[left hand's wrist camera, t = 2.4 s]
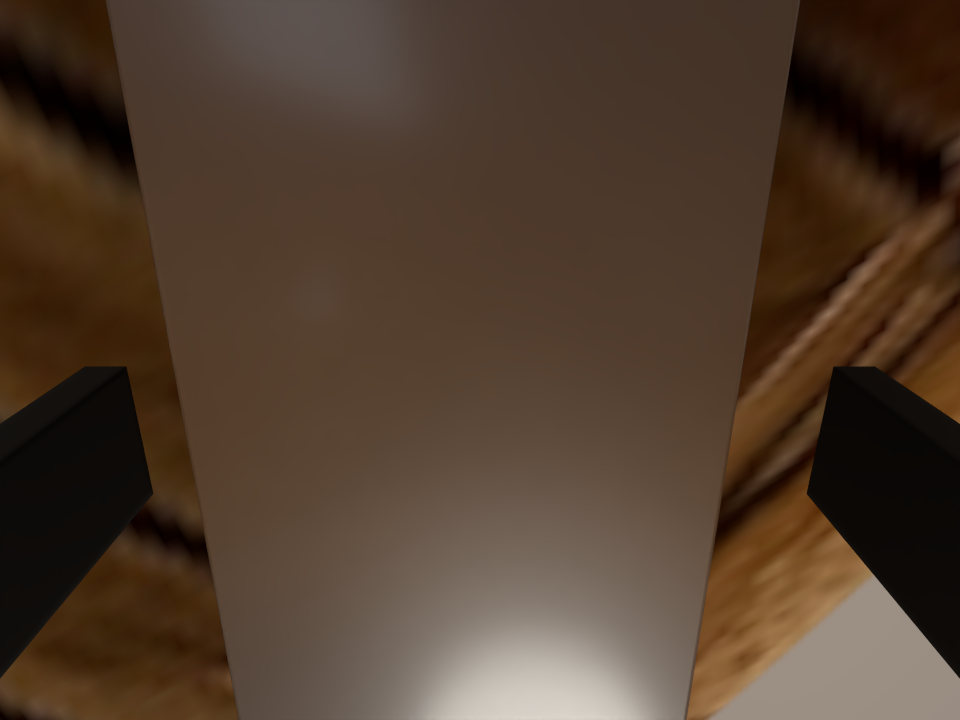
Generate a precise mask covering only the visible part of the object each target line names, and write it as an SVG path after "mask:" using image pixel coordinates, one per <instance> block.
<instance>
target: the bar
mask: <svg viewBox="0 0 960 720" xmlns="http://www.w3.org/2000/svg"><path fill="white" fill-rule="evenodd" d="M106 5H107V11H108V16H109V22H110V27H111V32H112V38H113V43H114V49H115V54H116V59H117V65H118V70H119V76H120V81H121V86H122V92H123V97H124V103H125V108H126V113H127V119H128V124H129V130H130V135H131V140H132V146H133V151H134V157H135V162H136V167H137V173H138V178H139V184H140V189H141V194H142V200H143V205H144V211H145V216H146V221H147V227H148V232H149V238H150V243H151V248H152V254H153V259H154V264H155V270H156V275H157V281H158V286H159V291H160V297H161V302H162V308H163V313H164V318H165V324H166V329H167V335H168V340H169V345H170V351H171V356H172V362H173V367H174V372H175V378H176V383H177V389H178V394H179V399H180V405H181V410H182V416H183V421H184V426H185V432H186V437H187V443H188V448H189V453H190V459H191V464H192V470H193V475H194V480H195V486H196V491H197V497H198V502H199V507H200V513H201V518H202V524H203V529H204V534H205V540H206V545H207V551H208V556H209V561H210V567H211V572H212V578H213V583H214V588H215V594H216V599H217V605H218V610H219V615H220V621H221V626H222V632H223V637H224V642H225V648H226V653H227V659H228V664H229V669H230V675H231V680H232V686H233V691H234V696H235V702H236V707H237V713H238V718H239V720H686V718H687V712H688V706H689V699H690V693H691V687H692V680H693V674H694V668H695V661H696V655H697V649H698V643H699V636H700V630H701V624H702V617H703V611H704V605H705V598H706V592H707V586H708V579H709V573H710V567H711V560H712V554H713V548H714V542H715V535H716V529H717V523H718V516H719V510H720V504H721V497H722V491H723V485H724V478H725V472H726V466H727V459H728V453H729V447H730V441H731V434H732V428H733V422H734V415H735V409H736V403H737V396H738V390H739V384H740V377H741V371H742V365H743V358H744V352H745V346H746V340H747V333H748V327H749V321H750V314H751V308H752V302H753V295H754V289H755V283H756V276H757V270H758V264H759V257H760V251H761V245H762V239H763V232H764V226H765V220H766V213H767V207H768V201H769V194H770V188H771V182H772V175H773V169H774V163H775V156H776V150H777V144H778V138H779V131H780V125H781V119H782V112H783V106H784V100H785V93H786V87H787V81H788V74H789V68H790V62H791V55H792V49H793V43H794V37H795V30H796V24H797V18H798V11H799V5H800V0H106Z"/></svg>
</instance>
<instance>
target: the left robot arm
mask: <svg viewBox="0 0 960 720" xmlns="http://www.w3.org/2000/svg"><path fill="white" fill-rule="evenodd" d="M152 495H153V490H152V485H151V481H150V476H149V471H148V466H147V462H146V457H145V452H144V448H143V443H142V438H141V433H140V429H139V424H138V419H137V415H136V410H135V405H134V400H133V396H132V391H131V386H130V382H129V377H128V372H127V367H84V368H82V369H81V370H79V371H78V372H76V373H75V374H73V375H72V376H70V377H69V378H67V379H66V380H65V381H63V382H62V383H60V384H59V385H57V386H56V387H54V388H53V389H51V390H50V391H48V392H47V393H45V394H44V395H42V396H41V397H39V398H38V399H36V400H35V401H33V402H32V403H30V404H29V405H27V406H26V407H25V408H23V409H22V410H20V411H19V412H17V413H16V414H14V415H13V416H11V417H10V418H8V419H7V420H5V421H4V422H2V423H1V424H0V678H1V677H2V676H3V674H4V673H5V672H6V671H7V670H8V668H9V667H10V666H11V665H12V664H13V662H14V661H15V660H16V659H17V658H18V656H19V655H20V654H21V653H22V652H23V650H24V649H25V648H26V647H27V646H28V644H29V643H30V642H31V641H32V639H33V638H34V637H35V636H36V635H37V633H38V632H39V631H40V630H41V629H42V627H43V626H44V625H45V624H46V623H47V621H48V620H49V619H50V618H51V617H52V615H53V614H54V613H55V612H56V611H57V609H58V608H59V607H60V606H61V605H62V603H63V602H64V601H65V600H66V598H67V597H68V596H69V595H70V594H71V592H72V591H73V590H74V589H75V588H76V586H77V585H78V584H79V583H80V582H81V580H82V579H83V578H84V577H85V576H86V574H87V573H88V572H89V571H90V570H91V568H92V567H93V566H94V565H95V564H96V562H97V561H98V560H99V559H100V557H101V556H102V555H103V554H104V553H105V551H106V550H107V549H108V548H109V547H110V545H111V544H112V543H113V542H114V541H115V539H116V538H117V537H118V536H119V535H120V533H121V532H122V531H123V530H124V529H125V527H126V526H127V525H128V524H129V523H130V521H131V520H132V519H133V518H134V516H135V515H136V514H137V513H138V512H139V510H140V509H141V508H142V507H143V506H144V504H145V503H146V502H147V501H148V500H149V498H150V497H151V496H152ZM807 495H808V496H809V497H810V498H811V500H812V501H813V502H814V503H815V504H816V506H817V507H818V508H819V509H820V510H821V512H822V513H823V514H824V515H825V516H826V518H827V519H828V520H829V521H830V523H831V524H832V525H833V526H834V527H835V529H836V530H837V531H838V532H839V533H840V535H841V536H842V537H843V538H844V539H845V541H846V542H847V543H848V544H849V545H850V547H851V548H852V549H853V550H854V551H855V553H856V554H857V555H858V556H859V557H860V559H861V560H862V561H863V562H864V564H865V565H866V566H867V567H868V568H869V570H870V571H871V572H872V573H873V574H874V576H875V577H876V578H877V579H878V580H879V582H880V583H881V584H882V585H883V586H884V588H885V589H886V590H887V591H888V592H889V594H890V595H891V596H892V597H893V598H894V600H895V601H896V602H897V603H898V605H899V606H900V607H901V608H902V609H903V610H904V612H905V613H906V614H907V615H908V617H909V618H910V619H911V620H912V621H913V623H914V624H915V625H916V626H917V627H918V629H919V630H920V631H921V632H922V633H923V635H924V636H925V637H926V638H927V639H928V641H929V642H930V643H931V644H932V646H933V647H934V648H935V649H936V650H937V652H938V653H939V654H940V655H941V656H942V658H943V659H944V660H945V661H946V662H947V664H948V665H949V666H950V667H951V668H952V670H953V671H954V672H955V673H956V674H957V676H958V677H959V678H960V424H959V423H958V422H956V421H955V420H953V419H952V418H950V417H949V416H947V415H946V414H944V413H943V412H941V411H940V410H938V409H937V408H935V407H934V406H933V405H931V404H930V403H928V402H927V401H925V400H924V399H922V398H921V397H919V396H918V395H916V394H915V393H913V392H912V391H910V390H909V389H907V388H906V387H904V386H903V385H901V384H900V383H898V382H897V381H895V380H894V379H893V378H891V377H890V376H888V375H887V374H885V373H884V372H882V371H881V370H879V369H878V368H876V367H833V372H832V377H831V382H830V386H829V391H828V396H827V400H826V405H825V410H824V415H823V419H822V424H821V429H820V433H819V438H818V443H817V448H816V452H815V457H814V462H813V466H812V471H811V476H810V481H809V485H808V490H807Z"/></svg>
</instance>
